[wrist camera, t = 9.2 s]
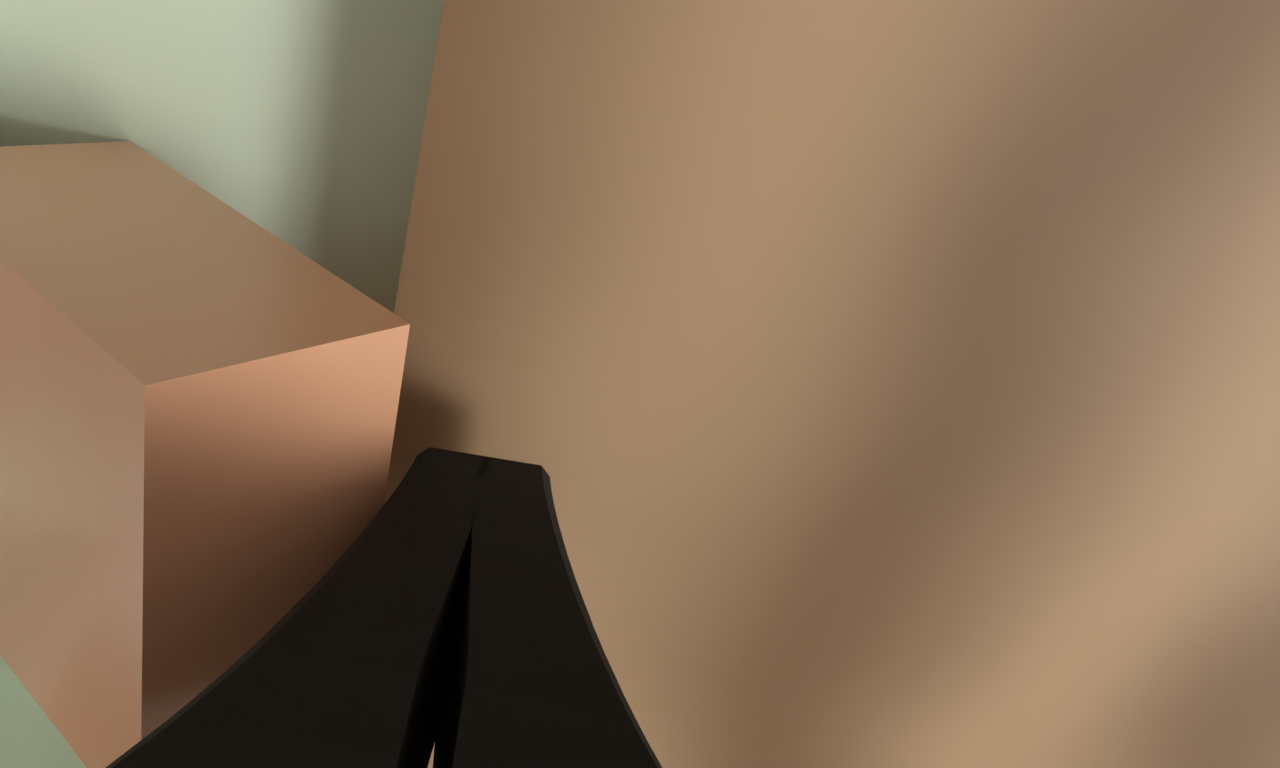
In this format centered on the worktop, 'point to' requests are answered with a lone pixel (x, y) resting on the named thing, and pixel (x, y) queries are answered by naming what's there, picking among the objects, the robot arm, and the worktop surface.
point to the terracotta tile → (168, 434)
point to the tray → (232, 141)
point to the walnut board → (877, 362)
